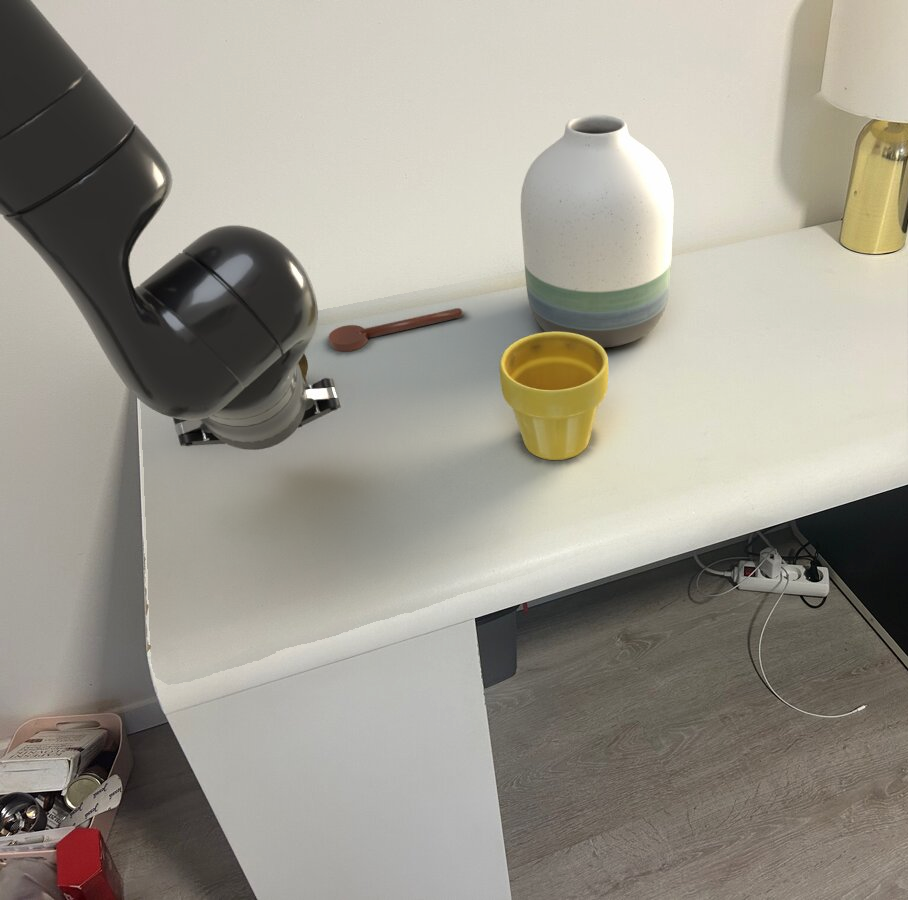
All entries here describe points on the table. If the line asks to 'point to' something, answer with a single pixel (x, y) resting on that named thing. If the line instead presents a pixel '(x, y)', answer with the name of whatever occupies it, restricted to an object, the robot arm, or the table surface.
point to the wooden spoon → (383, 329)
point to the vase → (597, 233)
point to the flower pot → (554, 390)
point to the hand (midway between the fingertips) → (267, 429)
